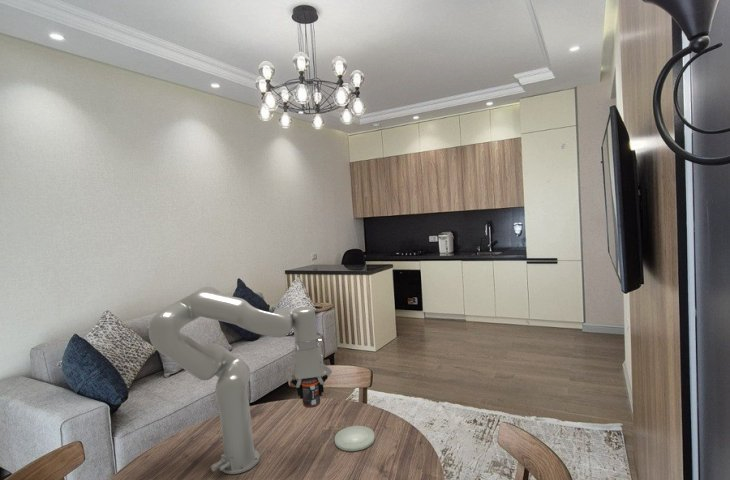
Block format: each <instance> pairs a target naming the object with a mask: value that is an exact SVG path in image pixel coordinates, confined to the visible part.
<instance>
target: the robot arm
mask: <svg viewBox="0 0 730 480" xmlns="http://www.w3.org/2000/svg"><path fill="white" fill-rule="evenodd" d="M200 317H201V318H205V319H210V320H215V321H220V322H224V323H228V324H232V325H236V326H238V327H239V328H242V329H243V330H246V331H248V332H250V333H253V334H257V335H260V336H261V335H262V336H267V337H272V338H283V337H286V336H287V335H289V334H290V333H291V330H292V329H293V334H294V345H295V347H294V348H293V349H292V350H293V352H292V368H291V369H290V371H289V372H288V373H287V375H286V376H285V379H286V380H287V381H288V382H290V383H291V384H292V385H294V386H295V387H296V388H297V396H298V397H299V399H300V400H303V399H302V387H301V380H302V379H307V378H315V377H317V378H318V380H319V392H320V397H322V396H323V393H324V383H325V382H326V381H327V380H328V378H329V377H330V376H331V374H332V373H333V370H332V369H331V368H330V367H329V366H327V365H326V364H325V363H324V358H323V351H322V348H321V345H320V344H323V340H322V338H319V337H318V332H317V330H318V329H317V319H316V310H315V309H314V308H313V307H310V306H302V307H301V306H300V307H297V308H293V307H281V308H276V309H275V310H274V311H273V312H270V311H266V310H262V309H259V308H257V307H255V306H253V305H251V303H249V302H248V301H247V300H245V299H244V298H240V297H237V296H232V295H228V294H224V293H220V291H219V290H218V289H217V288H215V287H212V286H204V287H202V288H199V289H198V290H196V291H195V292H192V293H191V294H189V295H187V296H185V297H183V298H181V299H179V300H176V301H175V302H173V303H171V304H170V305H168V306H166V307H165V308H163V309H161V310H159V311H158V312H157V313H156V314H155V315H154V316H153V317H152V319H151V320H150V323H149V325H148V326H149V327H148V337H149V340H150V343H151V345H152V347H154V349H155V350H156V351H157V352H158V353H160V354H162V355H163V356H165V358H168V359H170V361H172V362H174V364H177V366H179V367H180V368H182V369H183V370H185V371H186V372H187V373H189V374H190V375H192V376H193V377H195V378H196V379H198V380H200V381H209V380H211V379H212V378H214V377H217V378H218V379H217V381H216V383H215V389H214V390H215V398H216V402H217V407H218V411H219V412H218V413H219V422H220V427H221V428H220V430H221V437H222V439H221V440H222V446H223V447H222V448H223V453H222V454H220V455H221V456H220V457H221V458H219V459H218V461H217V462H215V463H214V464H211V465H210V468H211V469H210V470H211V472H215V471H217V470H218V469H219V471H220V472H222V473H224V474H226V475H227V474H228V475H237V474H241V473H242V474H243V473H244V472H247V471H250V470H251V469H252V468H254V467H255V466H256V465H257V464H258V463H259V461H260V459H261V455H260V452H259V451H258V450H257V449H255V444H254V435H253V426H252V417H251V408H250V402H249V401H250V400H249V397H248V396H249V395H248V385H249V381H250V379H251V369H250V367H249V365H248V364H247V362H246V361H244V360H242V359H241V358H240V357H239V356H237V355H236V354H234V352H232V351H230V350H229V349H227V348H226V347H224V346H223V345H221V344H219V343H213V342H209V343H205V344H204V345H201V344H200V343H198V342H197V341H195V340H194V339H193V338H191V337H189V336H188V335H187V336H186V335H185V334H182V333H181V332H180V330H181V329H182V328H184V327H185V326H186V325H188V324H190V323H191V322H193V321H195V320H196V319H199V318H200Z"/></svg>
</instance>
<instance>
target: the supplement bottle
mask: <svg viewBox="0 0 730 480" xmlns="http://www.w3.org/2000/svg"><path fill="white" fill-rule="evenodd" d="M301 387H302V399H301V400H302V405H303V407H304V408H309V409H310V408H312V409H313V408H316V407H318V406H319V405H320V404H321V396H320V392H319V380H318V378H317V377H315V378H307V379H302V380H301Z"/></svg>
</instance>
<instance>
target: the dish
mask: <svg viewBox="0 0 730 480" xmlns="http://www.w3.org/2000/svg"><path fill="white" fill-rule="evenodd" d="M374 441H375V432H374V430H372V429H371V428H370V427H367V426H364V425H351V426H347V427H345V428H343V429H341V430H339V431H338V432H337V433H336V434H335V436H334V443H335V446H336V448H338V449H340V450H342V451H345V452H359V451H362V450H365V449H367V448H369V447H370V446H372V444H374Z"/></svg>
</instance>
